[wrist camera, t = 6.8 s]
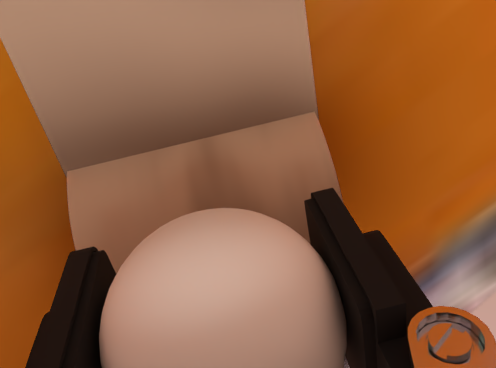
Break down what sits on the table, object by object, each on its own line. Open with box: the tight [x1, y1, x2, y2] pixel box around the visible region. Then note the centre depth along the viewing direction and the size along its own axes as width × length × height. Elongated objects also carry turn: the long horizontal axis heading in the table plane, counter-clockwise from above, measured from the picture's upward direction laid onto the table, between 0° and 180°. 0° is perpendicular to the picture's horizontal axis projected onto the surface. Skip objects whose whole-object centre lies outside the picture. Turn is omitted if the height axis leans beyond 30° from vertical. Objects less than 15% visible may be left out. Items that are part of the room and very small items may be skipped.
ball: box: [99, 208, 347, 368], centre depth 9 cm, size 5×5×5 cm
